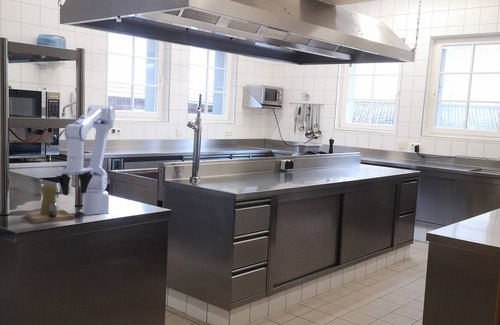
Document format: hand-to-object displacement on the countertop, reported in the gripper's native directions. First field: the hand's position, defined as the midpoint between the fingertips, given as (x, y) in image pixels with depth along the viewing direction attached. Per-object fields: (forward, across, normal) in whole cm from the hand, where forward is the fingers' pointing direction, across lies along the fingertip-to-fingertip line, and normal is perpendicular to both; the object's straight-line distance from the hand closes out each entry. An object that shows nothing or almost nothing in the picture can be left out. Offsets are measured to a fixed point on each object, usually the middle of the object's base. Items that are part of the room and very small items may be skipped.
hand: (74, 193), depth 180 cm
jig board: (+10, +3, -11) cm, 15 cm away
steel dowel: (+9, +4, -7) cm, 12 cm away
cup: (+11, -33, -52) cm, 62 cm away
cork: (+9, +2, -12) cm, 15 cm away
